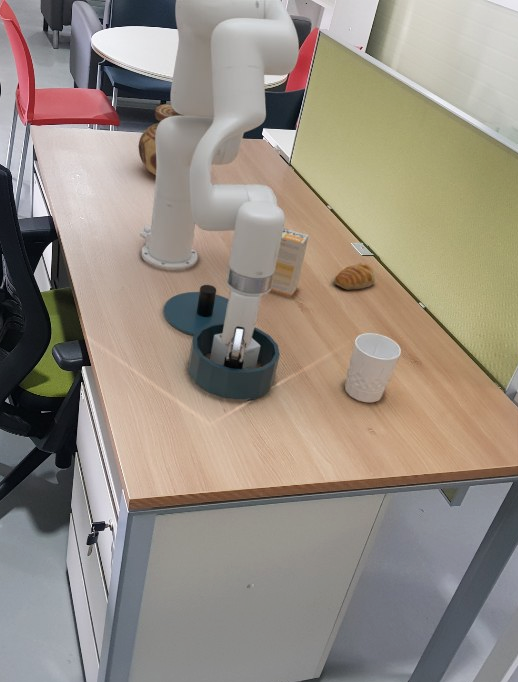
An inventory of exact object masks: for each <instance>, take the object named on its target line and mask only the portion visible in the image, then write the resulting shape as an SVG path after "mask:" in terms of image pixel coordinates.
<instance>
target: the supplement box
mask: <svg viewBox="0 0 518 682" xmlns="http://www.w3.org/2000/svg"><path fill="white" fill-rule="evenodd" d="M308 241H309V234H306V233H302V232H300V231H296V230H291V229H288V228H285V227H284V229H283V233H282V238H281V243H280V248H279V253H278V257H277V262H276V267H275V271H274V276H273V281H272V286H271V290H270V291H273V292H276V293H280V294H283V295H286V296H289V297H292V296H293V295H294V293H296V291H297V289H298V286H299V281H300V278H301V277H300V276H301V272H302V268H303V263H304V260H305V254H306V250H307V245H308Z"/></svg>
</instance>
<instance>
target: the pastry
mask: <svg viewBox="0 0 518 682" xmlns="http://www.w3.org/2000/svg"><path fill="white" fill-rule="evenodd" d="M375 277H376V275H375V274H374V270H373V268H372V267H371V266H370V265H368V264H364V263H362V262H361V263H358V264H354V265H349V266H347V267H345V268H343V269H342V270H341V271H340V272H339V273H338V274H337V275H336V276H335V280H334V285H336V286H338V287H340V288H342V289H345V290H347V291H348V290H349V291H352V290H363V289H365V288H369V287H371V286H372V285H374V284H375V283H376V278H375Z"/></svg>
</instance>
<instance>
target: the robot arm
mask: <svg viewBox="0 0 518 682" xmlns="http://www.w3.org/2000/svg"><path fill="white" fill-rule="evenodd" d="M174 8H175V9H174V10H175V12H174V13H175V15H174V16H175V23H176V28H177V36H178V42H177V44H178V45H177V51H176V55H175V56H176V57H175V63H174V69H173V74H172V80H171V87H170V95H169V96H170V97H169V98H170V99H169V100H170V104H171V105H172V108H173V109H174V110H175V111H176V112H177V113H179V114H181V115H185V116H172V117H168V118H165V119H163V120H162V121H161V122H160V121H159V122H160V123H159V122H158V123H159V124H158V126H157V129H156V135H155V142H156V162H157V166H156V175H155V182H154V195H153V205H152V213H151V214H152V215H151V225H149V224H146V225H145V226H144V227H143V230H141V231H140V233H139V236H140V237H141V238H143V239H145V241H146V242H145V245H143V246H142V248H141V258H142V259H143V260H144V262H147V263H148V264H150V265H151V266H154V267H157V268H161V269H166V270H183V269H188V268H191V267H192V266H194V265H195V264H196V263H197V262H198V258H199V257H198V253H197V251H196V250H195V249H194V248H193V243H194V235H195V230H196V227H198V228H199V229H201V230H203V231H206V232H233V237H232V243H231V249H230V255H229V260H228V266H227V271H226V279H225V284H226V286H227V287H228V289H229V295H228V298H227V299H228V304H227V309H226V315H225V321H224V327H223V333H222V338H221V342H222V343H223V344H228V343H229V346H228V352H227V357H225V360H224V366H225V367H228V368H233V369H242V367H243V362H244V360H243V354H244V349H245V348H247V347H249V344H250V341H251V338H252V335H253V331H254V328H256V324H257V320H258V316H259V311H260V307H261V302H262V297H263V296H265V295H268V294H269V293H270V292H271V291H272V290H271V286H272V281H273V276H274V271H275V267H276V262H277V257H278V253H279V248H280V243H281V238H282V233H283V229H284V228H285V222H286V215H285V213H284V211H283V209H281V207H279V206H278V198H277V196H276V195H275V193H274V191H273V189H272V188H271V187H269V185H268V186H267V185H265V184H260V183H259V184H257V183H256V184H255V183H254V184H253V183H247V184H246V183H244V184H242V183H212V166H217V165H218V166H219V165H220V166H223V165H224V166H225V165H230V164H231V163H233V162H234V161H235V160H236V159H237V157H238V155H239V152H240V149H241V145H242V142H243V139H244V134H245V133H246V132H249V131H252V130H255V129H256V128H258V127H259V126H261V125H262V124H263V123H264V122H265V120H266V117H267V109H266V88H265V76H278V77H279V76H280V77H281V76H287V75H289V74H290V73H292V72H293V71H294V69H295V67H296V65H297V63H298V59H299V53H300V52H299V51H300V48H299V45H300V44H299V37H298V32H297V29H296V27H295V24H294V21H293V19H292V17H291V15H290V13H289V12H288V10H287V8H286V6H285V5H284V3H283V2H282V0H175V7H174ZM232 338H233V339H234V342H232ZM242 340H243V341H244V343H243V344H241V341H242ZM232 346H233V349H232V352H231V347H232ZM240 347H241V348H242V349H241V354H240V353H239V351H240Z"/></svg>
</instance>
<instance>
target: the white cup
mask: <svg viewBox="0 0 518 682" xmlns="http://www.w3.org/2000/svg"><path fill="white" fill-rule="evenodd" d="M401 353H402V350H401V347H400V345H399V344H398V343H397V342H396V341H395V340H393V339H392V338H390V337H388V336H386V335H384V334H380V333H373V332H372V333H371V332H368V333H367V332H366V333H362V334H359V335H358V336H357V337H356V338H355V339H354V344H353V347H352V352H351V356H350V359H349V364H348V369H347V374H346V380H345V383H344V389H345V392H346V393H347V394H348V396H349V397H351V398H353V399H354V400H356V401H358V402H362V403H368V404H369V403H376V402H379V401H380V400H381V399H382V397H383V395H384V393H385V390H386V388H387V386H388V384H389V382H390V380H391V377H392V376H393V373H394V371H395V369H396V367H397V363H398V361H399V359H400V356H401Z"/></svg>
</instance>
